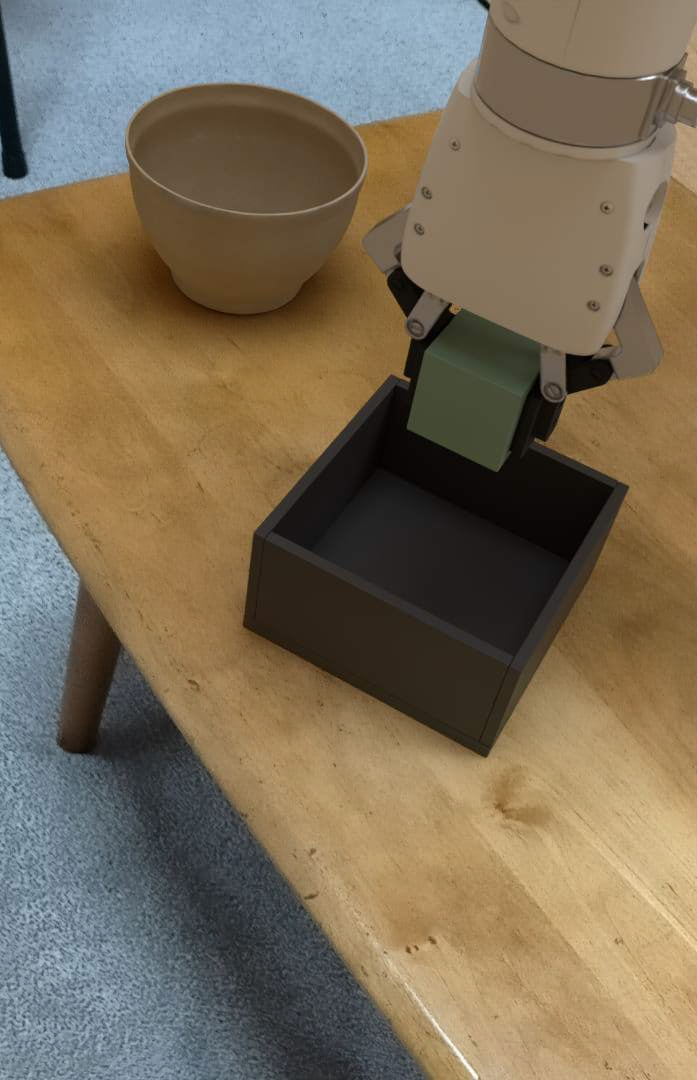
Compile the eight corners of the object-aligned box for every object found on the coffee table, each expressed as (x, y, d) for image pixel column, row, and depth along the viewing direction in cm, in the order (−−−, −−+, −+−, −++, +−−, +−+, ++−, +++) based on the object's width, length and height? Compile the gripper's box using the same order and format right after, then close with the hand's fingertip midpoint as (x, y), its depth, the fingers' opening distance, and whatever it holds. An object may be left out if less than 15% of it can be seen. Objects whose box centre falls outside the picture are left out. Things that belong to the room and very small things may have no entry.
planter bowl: (364, 348, 87) (388, 217, 79) (130, 348, 84) (130, 211, 75) (331, 212, 97) (349, 84, 89) (121, 208, 94) (120, 74, 86)
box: (537, 415, 63) (563, 339, 59) (496, 473, 60) (521, 396, 56) (450, 375, 64) (470, 297, 60) (405, 429, 61) (424, 351, 57)
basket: (590, 575, 76) (630, 485, 70) (486, 758, 66) (521, 672, 60) (371, 467, 79) (391, 373, 73) (242, 626, 70) (252, 532, 64)
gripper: (807, 115, 48) (657, 446, 62) (423, -32, 52) (361, 309, 66) (753, 201, 44) (604, 538, 57) (336, 32, 48) (289, 385, 61)
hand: (475, 413), depth 61 cm, fingers closed on box, 5 cm apart
